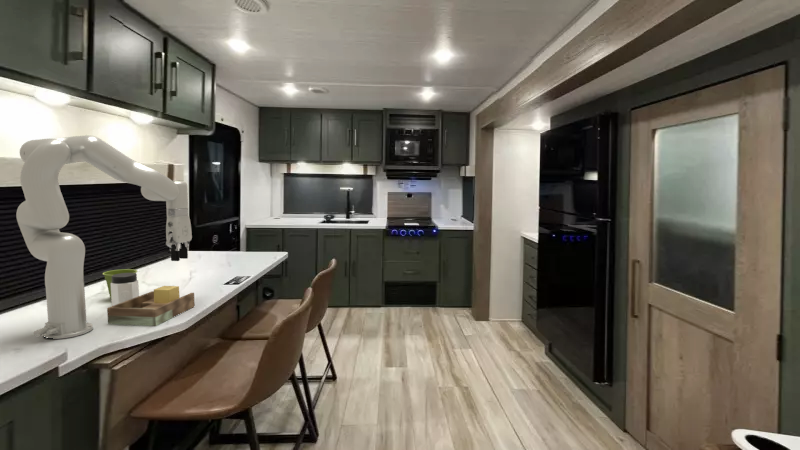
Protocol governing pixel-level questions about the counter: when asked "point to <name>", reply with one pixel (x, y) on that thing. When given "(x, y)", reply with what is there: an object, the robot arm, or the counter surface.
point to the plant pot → (109, 274)
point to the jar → (124, 287)
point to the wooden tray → (148, 310)
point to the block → (166, 294)
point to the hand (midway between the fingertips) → (179, 259)
